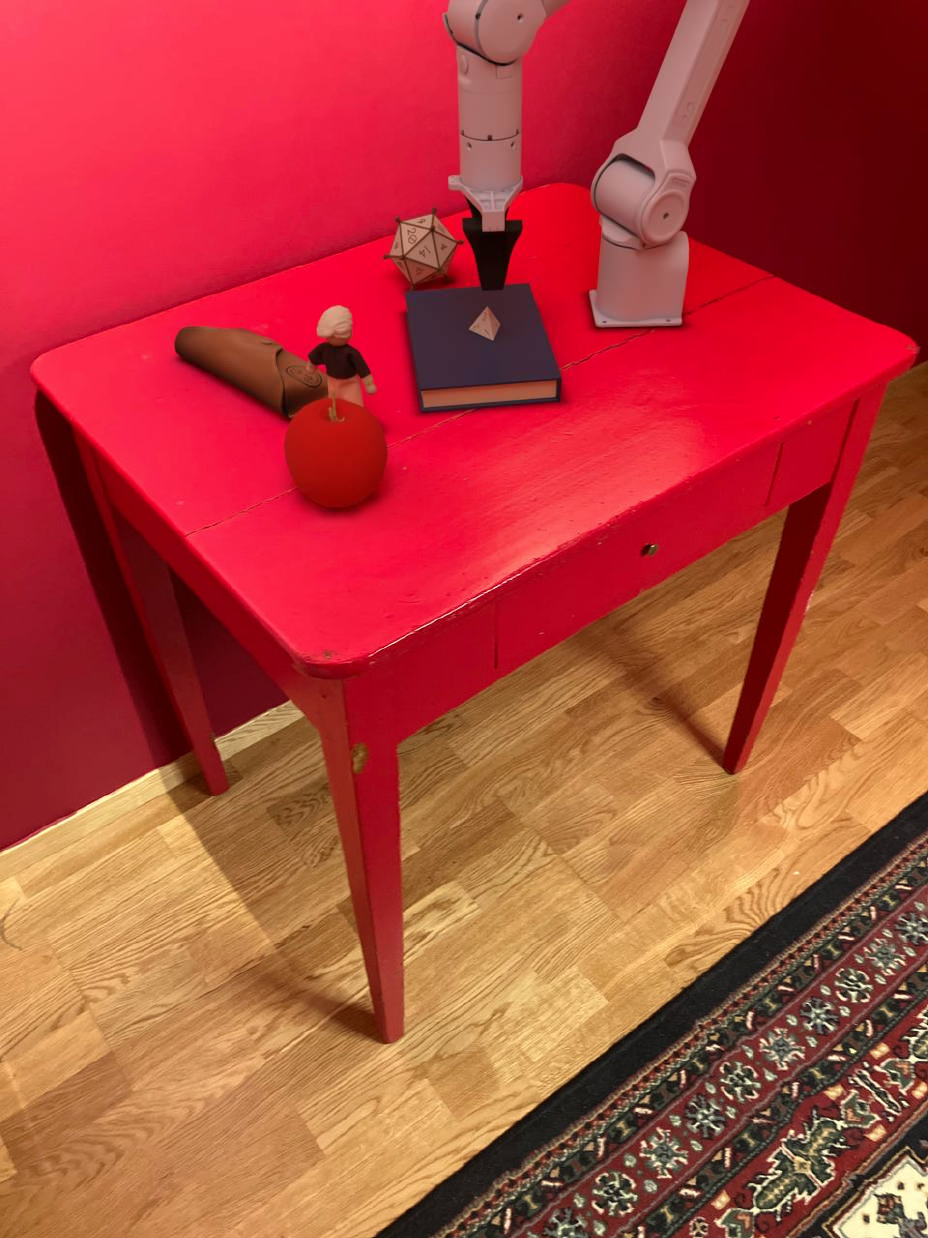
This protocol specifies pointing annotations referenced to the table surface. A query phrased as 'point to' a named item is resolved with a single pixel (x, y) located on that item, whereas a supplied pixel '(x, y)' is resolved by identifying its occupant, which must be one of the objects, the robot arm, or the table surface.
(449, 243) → the game die
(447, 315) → the book
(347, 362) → the grandmother figurine
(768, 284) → the table surface
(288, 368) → the sunglasses case
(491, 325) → the tetrahedral die
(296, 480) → the fruit
